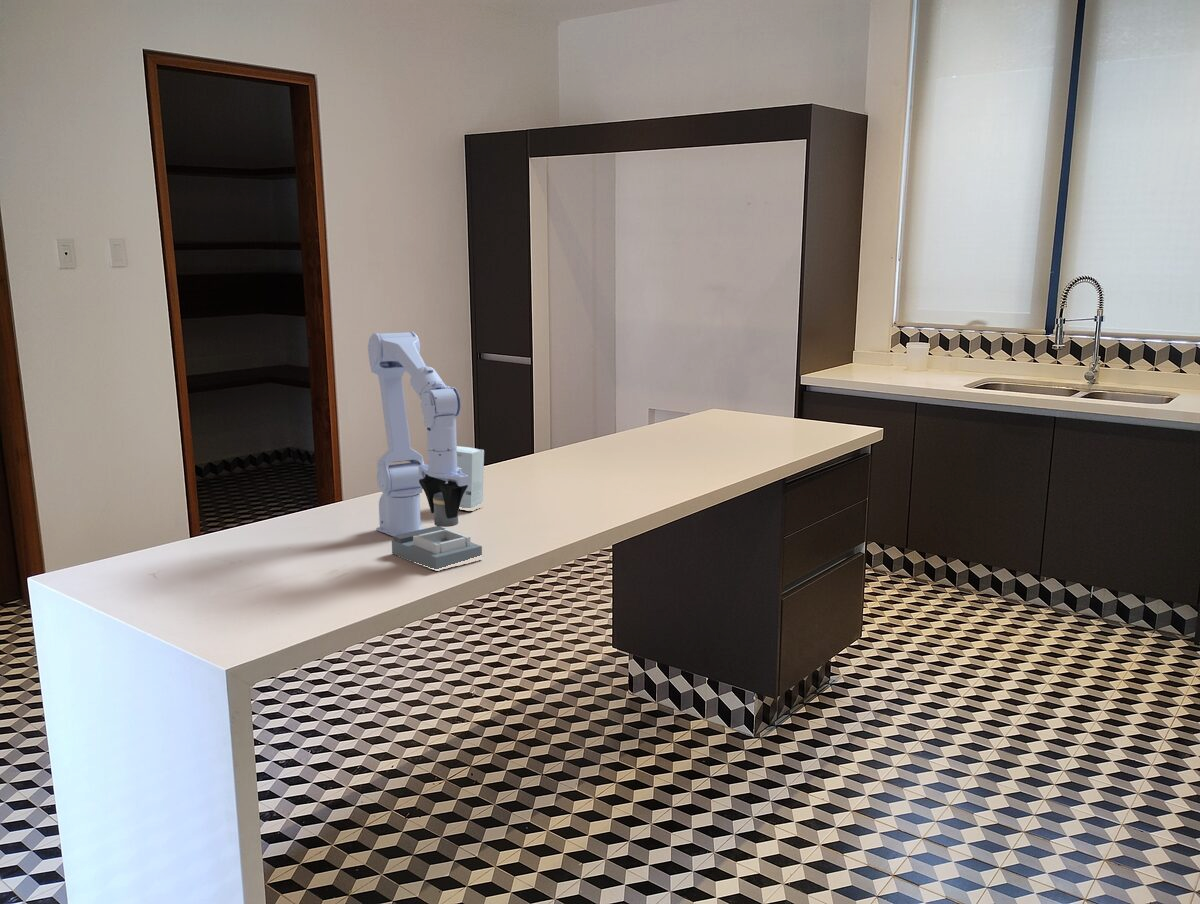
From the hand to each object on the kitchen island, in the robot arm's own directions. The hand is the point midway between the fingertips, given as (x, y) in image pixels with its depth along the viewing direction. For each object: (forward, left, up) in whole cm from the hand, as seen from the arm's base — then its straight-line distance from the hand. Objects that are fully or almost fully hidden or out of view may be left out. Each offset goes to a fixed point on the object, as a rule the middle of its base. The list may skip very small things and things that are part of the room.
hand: (444, 514), depth 195 cm
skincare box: (-29, +26, -9) cm, 40 cm away
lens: (0, +1, -2) cm, 2 cm away
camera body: (-1, -1, -9) cm, 9 cm away
